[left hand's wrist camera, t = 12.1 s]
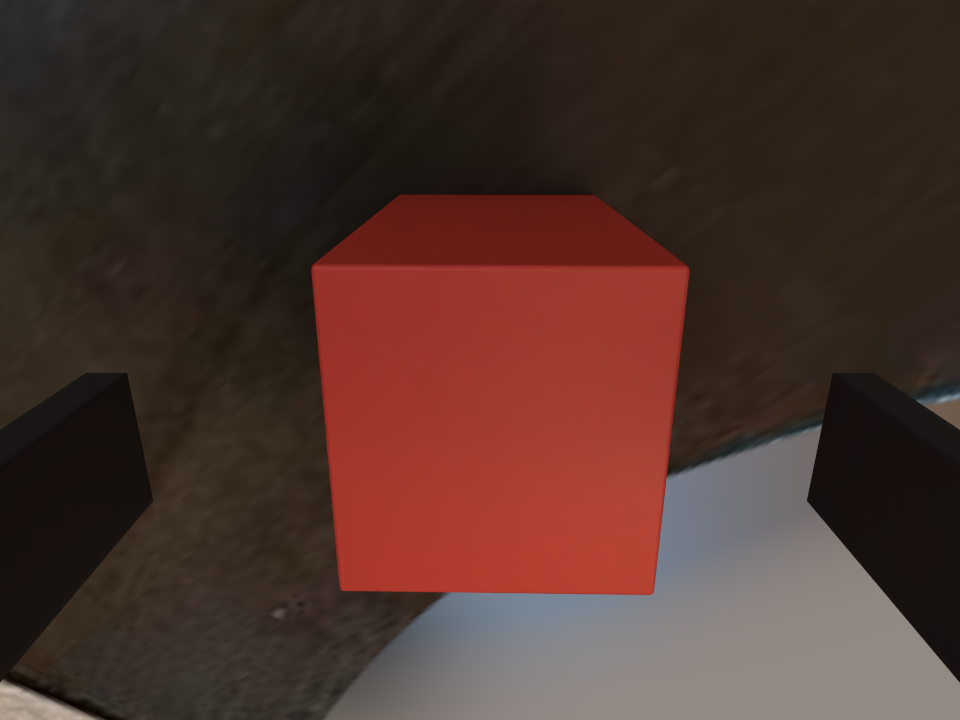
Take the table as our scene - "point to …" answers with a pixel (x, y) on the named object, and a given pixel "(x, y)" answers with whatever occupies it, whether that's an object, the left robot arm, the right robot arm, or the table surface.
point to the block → (498, 395)
